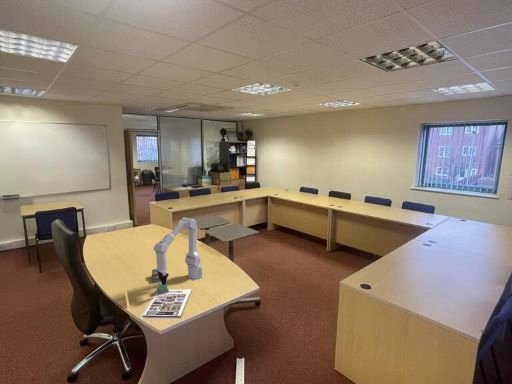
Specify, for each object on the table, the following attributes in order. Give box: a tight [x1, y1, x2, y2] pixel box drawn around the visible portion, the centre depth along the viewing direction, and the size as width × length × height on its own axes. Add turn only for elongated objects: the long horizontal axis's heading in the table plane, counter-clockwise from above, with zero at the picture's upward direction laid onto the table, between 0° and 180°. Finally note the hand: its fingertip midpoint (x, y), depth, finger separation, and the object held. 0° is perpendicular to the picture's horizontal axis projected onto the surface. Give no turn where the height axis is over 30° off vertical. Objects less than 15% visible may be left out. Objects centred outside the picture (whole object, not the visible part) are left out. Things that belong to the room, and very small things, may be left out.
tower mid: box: [156, 286, 170, 296], centre depth 172 cm, size 6×6×2 cm
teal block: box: [158, 282, 168, 291], centre depth 171 cm, size 4×4×4 cm
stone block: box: [151, 268, 161, 284], centre depth 191 cm, size 9×14×5 cm, turn 25°
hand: (162, 281), depth 171 cm, fingers open, 7 cm apart
